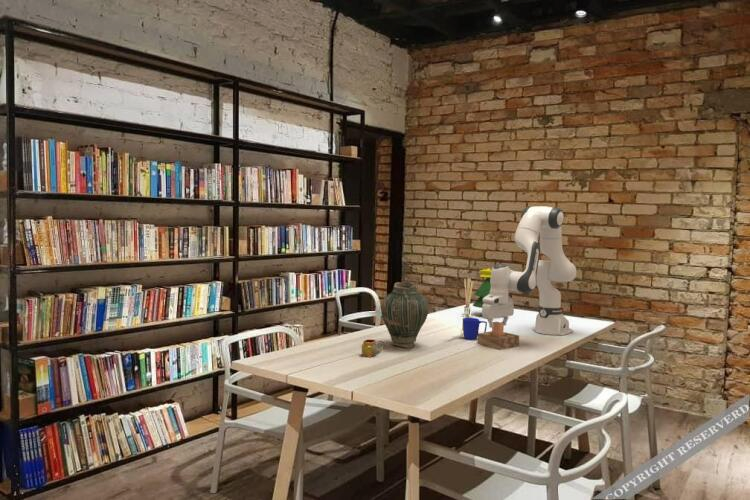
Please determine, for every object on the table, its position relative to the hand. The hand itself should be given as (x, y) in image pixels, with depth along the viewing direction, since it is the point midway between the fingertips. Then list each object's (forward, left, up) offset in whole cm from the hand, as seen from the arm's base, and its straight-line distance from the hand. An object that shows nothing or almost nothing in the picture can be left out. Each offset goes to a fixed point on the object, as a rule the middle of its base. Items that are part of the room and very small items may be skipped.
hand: (497, 326), depth 273 cm
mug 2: (-1, -15, -9) cm, 18 cm away
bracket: (-1, 0, -9) cm, 9 cm away
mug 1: (+61, -19, -9) cm, 65 cm away
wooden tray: (-1, 0, -9) cm, 9 cm away
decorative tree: (-58, -53, -9) cm, 79 cm away
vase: (+39, -24, -9) cm, 47 cm away
